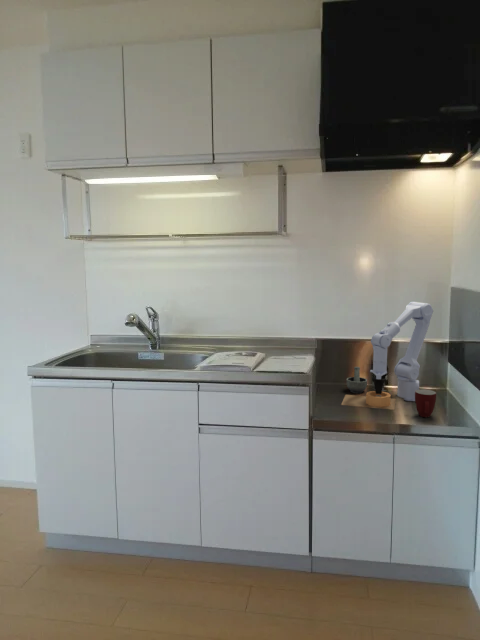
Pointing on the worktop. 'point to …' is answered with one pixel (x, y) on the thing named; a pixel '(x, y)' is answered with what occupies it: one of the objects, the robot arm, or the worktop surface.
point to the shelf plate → (364, 402)
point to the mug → (425, 402)
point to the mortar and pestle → (356, 382)
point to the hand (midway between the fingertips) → (379, 391)
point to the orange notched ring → (378, 399)
